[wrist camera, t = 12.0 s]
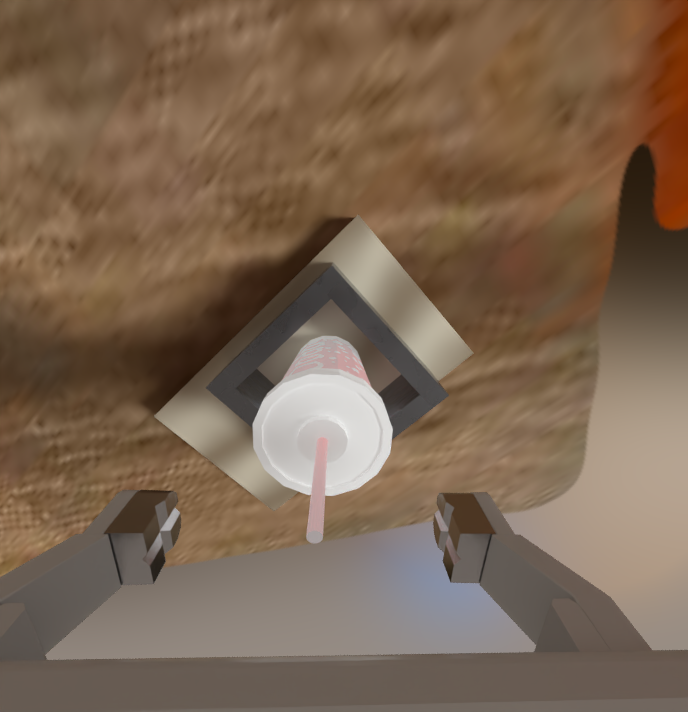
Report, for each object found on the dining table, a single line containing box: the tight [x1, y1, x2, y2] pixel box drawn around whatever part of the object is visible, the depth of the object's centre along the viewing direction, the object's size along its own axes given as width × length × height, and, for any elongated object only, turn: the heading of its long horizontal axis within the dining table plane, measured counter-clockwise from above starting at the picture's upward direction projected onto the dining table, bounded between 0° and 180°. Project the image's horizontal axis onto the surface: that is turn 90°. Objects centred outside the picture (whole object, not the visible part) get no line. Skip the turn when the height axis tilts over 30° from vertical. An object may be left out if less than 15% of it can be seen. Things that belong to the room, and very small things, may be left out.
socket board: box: [154, 215, 473, 511], centre depth 24 cm, size 12×20×2 cm, turn 133°
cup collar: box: [206, 263, 449, 439], centre depth 21 cm, size 10×10×4 cm
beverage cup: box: [253, 336, 393, 543], centre depth 16 cm, size 6×6×14 cm
